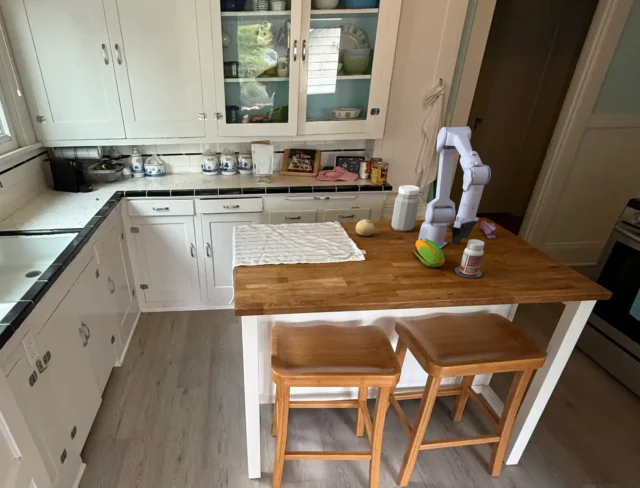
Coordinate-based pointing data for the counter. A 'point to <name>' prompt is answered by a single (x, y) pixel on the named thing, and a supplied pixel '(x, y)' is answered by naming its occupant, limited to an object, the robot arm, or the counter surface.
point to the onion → (365, 227)
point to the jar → (405, 208)
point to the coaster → (458, 272)
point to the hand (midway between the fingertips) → (459, 241)
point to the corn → (430, 253)
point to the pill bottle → (472, 257)
